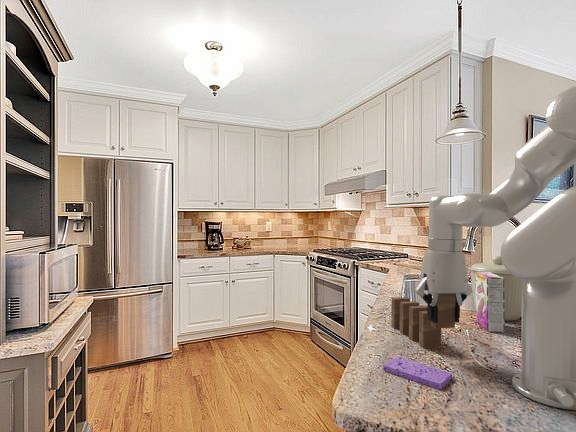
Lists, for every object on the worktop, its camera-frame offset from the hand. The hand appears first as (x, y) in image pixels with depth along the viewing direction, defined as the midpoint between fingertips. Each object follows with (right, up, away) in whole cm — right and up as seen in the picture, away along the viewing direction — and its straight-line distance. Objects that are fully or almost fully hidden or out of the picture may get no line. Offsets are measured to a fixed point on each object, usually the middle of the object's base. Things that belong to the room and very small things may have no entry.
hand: (443, 320), depth 85 cm
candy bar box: (+25, -9, +23) cm, 35 cm away
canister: (+34, -10, +35) cm, 50 cm away
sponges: (-10, -9, -11) cm, 17 cm away
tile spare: (0, -2, 0) cm, 2 cm away
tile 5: (-3, -9, +22) cm, 24 cm away
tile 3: (-2, -9, +11) cm, 14 cm away
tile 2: (-1, -9, +6) cm, 10 cm away
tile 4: (-2, -9, +17) cm, 19 cm away
